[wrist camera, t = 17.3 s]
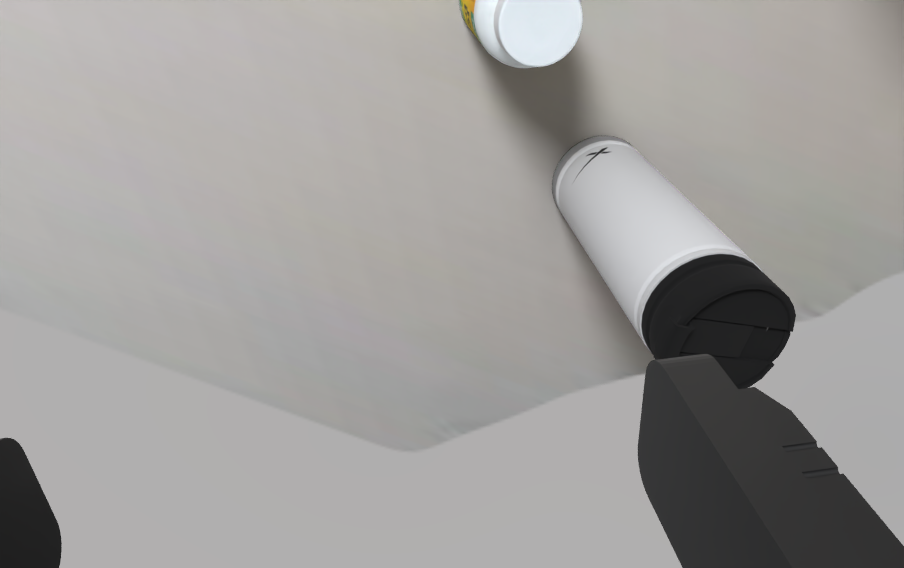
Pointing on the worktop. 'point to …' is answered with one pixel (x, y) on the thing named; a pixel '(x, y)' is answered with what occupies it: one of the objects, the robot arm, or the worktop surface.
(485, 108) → the worktop surface
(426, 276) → the worktop surface
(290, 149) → the worktop surface
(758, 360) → the travel mug
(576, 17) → the supplement bottle
